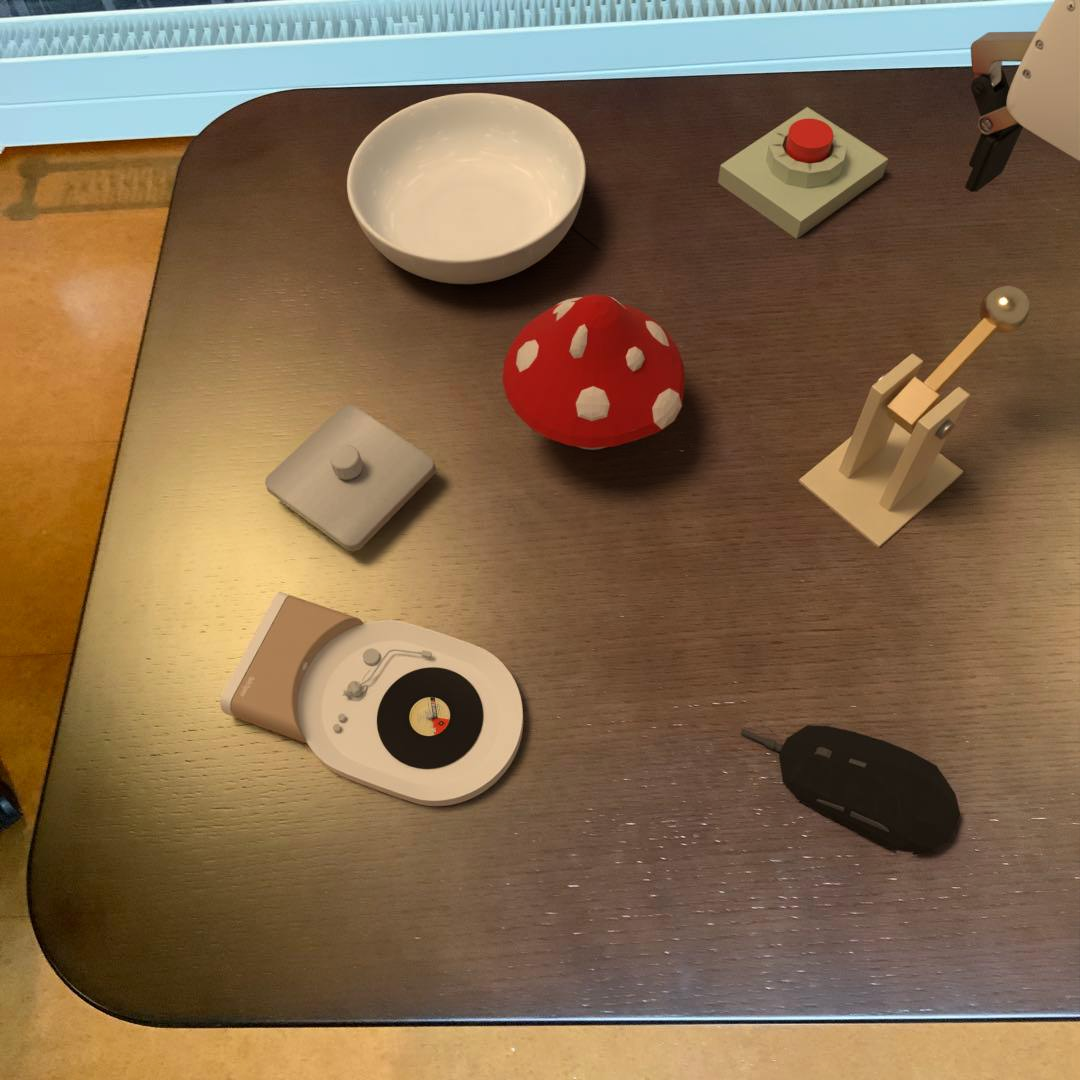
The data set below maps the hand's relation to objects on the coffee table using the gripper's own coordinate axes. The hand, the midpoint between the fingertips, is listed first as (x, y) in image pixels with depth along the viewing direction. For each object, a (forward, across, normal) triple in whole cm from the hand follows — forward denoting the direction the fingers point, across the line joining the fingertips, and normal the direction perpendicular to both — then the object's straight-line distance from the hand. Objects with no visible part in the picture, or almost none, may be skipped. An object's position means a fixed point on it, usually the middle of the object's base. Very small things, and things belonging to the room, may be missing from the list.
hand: (1045, 220), depth 66 cm
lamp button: (+18, +27, -13) cm, 35 cm away
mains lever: (+11, 0, +3) cm, 12 cm away
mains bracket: (+22, 0, +8) cm, 23 cm away
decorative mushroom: (+22, +19, +21) cm, 36 cm away
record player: (+22, +10, +48) cm, 54 cm away
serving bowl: (+22, +43, +14) cm, 50 cm away
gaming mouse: (+22, -14, +28) cm, 38 cm away
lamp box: (+22, +27, -13) cm, 37 cm away
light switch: (+22, +27, +39) cm, 52 cm away
